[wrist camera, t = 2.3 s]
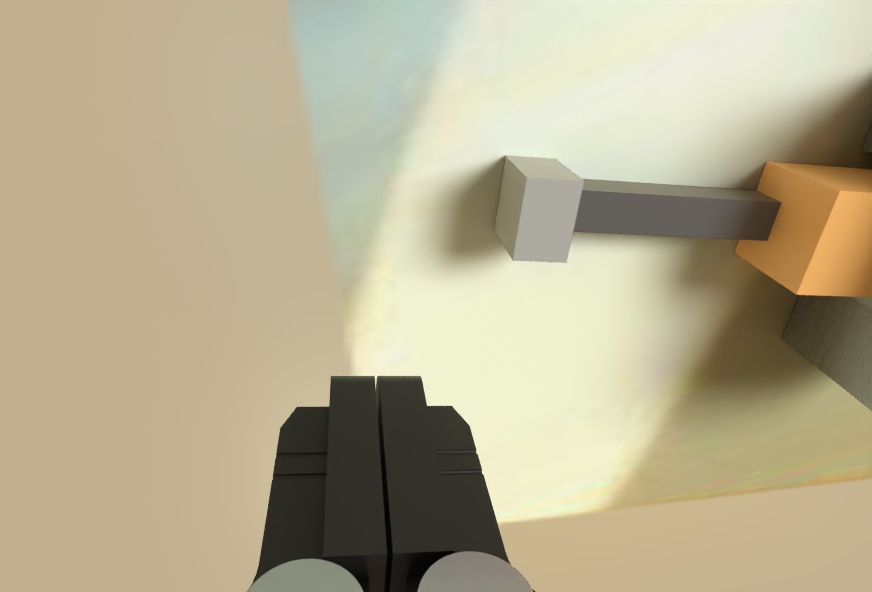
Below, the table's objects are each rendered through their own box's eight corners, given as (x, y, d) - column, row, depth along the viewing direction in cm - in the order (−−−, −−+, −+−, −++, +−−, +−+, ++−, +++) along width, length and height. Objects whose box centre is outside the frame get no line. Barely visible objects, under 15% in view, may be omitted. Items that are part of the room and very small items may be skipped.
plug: (507, 141, 22) (538, 170, 18) (873, 169, 24) (962, 199, 21) (492, 241, 24) (517, 285, 20) (835, 257, 26) (910, 298, 23)
